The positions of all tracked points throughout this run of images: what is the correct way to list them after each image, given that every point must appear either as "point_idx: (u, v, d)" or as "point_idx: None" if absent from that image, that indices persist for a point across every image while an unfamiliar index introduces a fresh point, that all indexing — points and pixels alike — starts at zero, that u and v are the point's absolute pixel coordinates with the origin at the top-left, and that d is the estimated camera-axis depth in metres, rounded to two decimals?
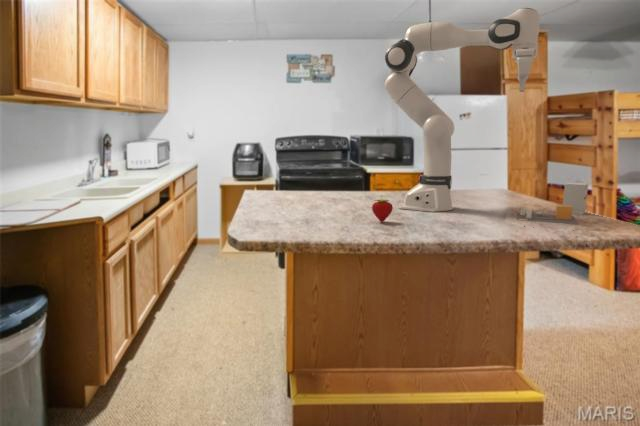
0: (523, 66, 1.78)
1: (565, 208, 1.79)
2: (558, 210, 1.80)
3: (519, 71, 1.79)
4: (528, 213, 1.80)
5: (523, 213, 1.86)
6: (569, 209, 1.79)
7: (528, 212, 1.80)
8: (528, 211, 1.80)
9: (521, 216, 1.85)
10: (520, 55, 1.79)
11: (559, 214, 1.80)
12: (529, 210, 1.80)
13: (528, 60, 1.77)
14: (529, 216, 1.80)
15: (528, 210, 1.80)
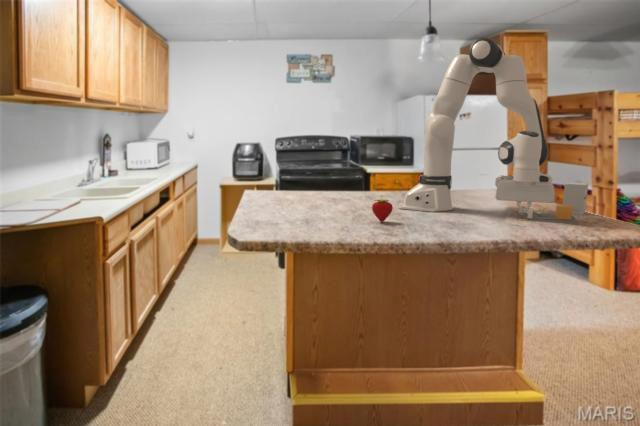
0: None
1: (565, 208, 1.79)
2: (558, 210, 1.80)
3: (554, 198, 1.75)
4: (529, 213, 1.80)
5: None
6: (569, 209, 1.79)
7: (529, 212, 1.80)
8: (529, 211, 1.80)
9: (521, 216, 1.85)
10: None
11: (559, 214, 1.80)
12: (530, 210, 1.80)
13: None
14: (530, 216, 1.80)
15: (529, 210, 1.80)
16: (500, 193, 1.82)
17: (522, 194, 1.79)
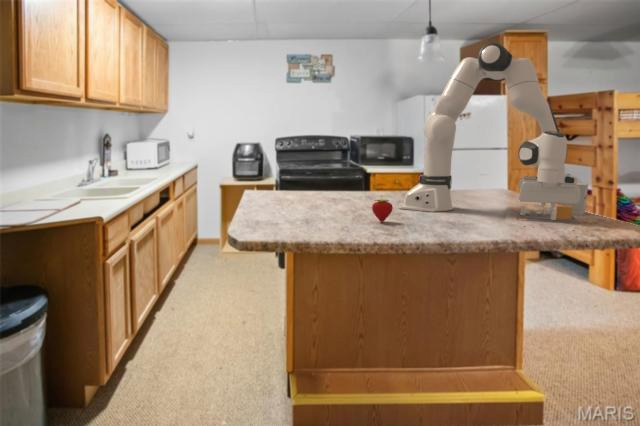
0: None
1: (565, 208, 1.79)
2: (558, 210, 1.80)
3: None
4: (553, 215, 1.77)
5: (523, 213, 1.86)
6: (569, 209, 1.79)
7: (553, 213, 1.77)
8: (553, 212, 1.77)
9: (521, 216, 1.85)
10: (576, 183, 1.72)
11: (559, 214, 1.80)
12: (554, 211, 1.77)
13: None
14: (554, 218, 1.77)
15: (553, 211, 1.77)
16: (523, 194, 1.79)
17: (546, 195, 1.76)
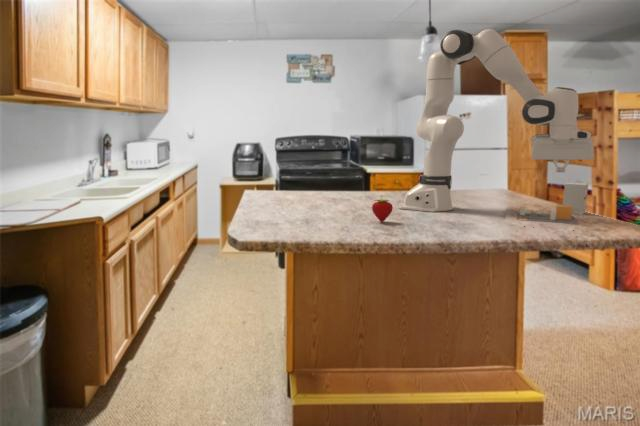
0: None
1: (565, 208, 1.79)
2: (558, 210, 1.80)
3: (593, 154, 1.72)
4: (552, 214, 1.77)
5: (523, 213, 1.86)
6: (569, 209, 1.79)
7: (552, 213, 1.77)
8: (552, 212, 1.77)
9: (521, 216, 1.85)
10: None
11: (559, 214, 1.80)
12: (553, 211, 1.77)
13: None
14: (553, 218, 1.77)
15: (552, 211, 1.77)
16: (536, 152, 1.78)
17: (559, 152, 1.75)
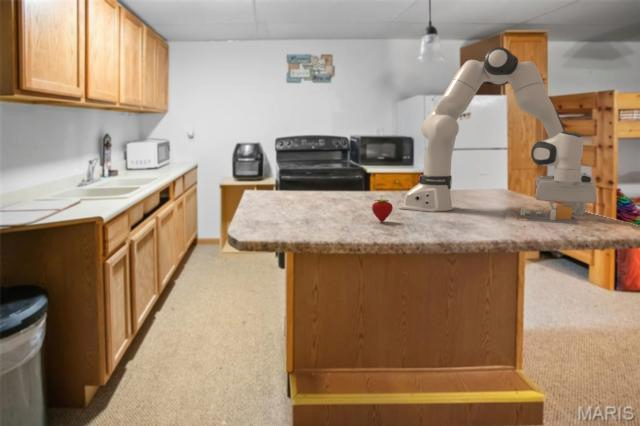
0: None
1: (565, 208, 1.79)
2: (558, 210, 1.80)
3: None
4: (552, 214, 1.77)
5: (523, 213, 1.86)
6: (569, 209, 1.79)
7: (552, 213, 1.77)
8: (552, 212, 1.77)
9: (521, 216, 1.85)
10: (592, 182, 1.76)
11: (559, 214, 1.80)
12: (553, 211, 1.77)
13: None
14: (553, 218, 1.77)
15: (552, 211, 1.77)
16: (540, 193, 1.82)
17: (563, 194, 1.80)
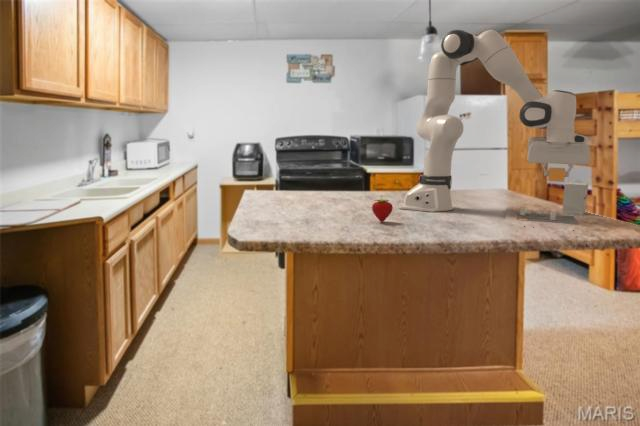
0: None
1: (558, 170, 1.73)
2: (551, 172, 1.74)
3: None
4: (552, 214, 1.77)
5: (523, 213, 1.86)
6: (562, 171, 1.72)
7: (552, 213, 1.77)
8: (552, 212, 1.77)
9: (521, 216, 1.85)
10: (586, 142, 1.69)
11: (552, 176, 1.74)
12: (553, 211, 1.77)
13: None
14: (553, 218, 1.77)
15: (552, 211, 1.77)
16: (532, 155, 1.76)
17: (556, 155, 1.73)
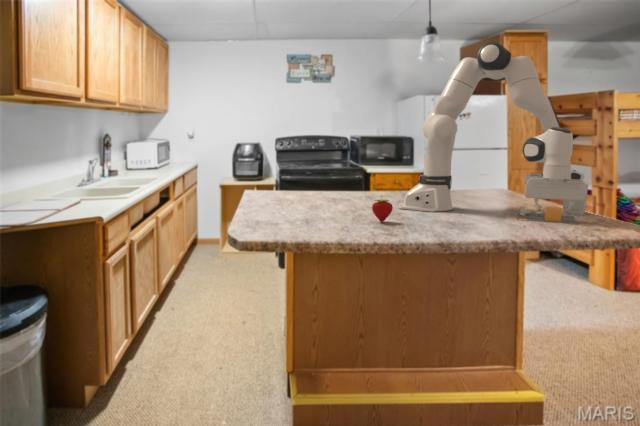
0: None
1: (554, 210, 1.75)
2: (547, 212, 1.76)
3: None
4: None
5: (523, 213, 1.86)
6: (558, 211, 1.75)
7: None
8: None
9: (521, 216, 1.85)
10: (582, 179, 1.71)
11: (548, 216, 1.76)
12: None
13: None
14: None
15: None
16: (529, 190, 1.78)
17: (552, 191, 1.75)
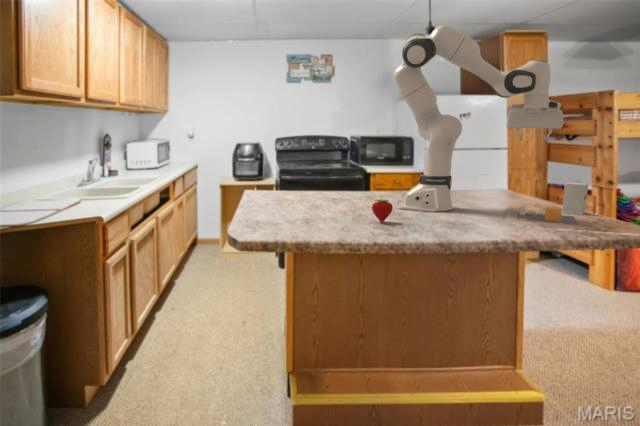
0: (562, 119, 1.86)
1: (554, 210, 1.75)
2: (547, 212, 1.76)
3: None
4: None
5: (523, 213, 1.86)
6: (558, 211, 1.75)
7: None
8: None
9: (521, 216, 1.85)
10: None
11: (548, 216, 1.76)
12: None
13: None
14: None
15: None
16: (511, 121, 1.92)
17: (532, 121, 1.89)
